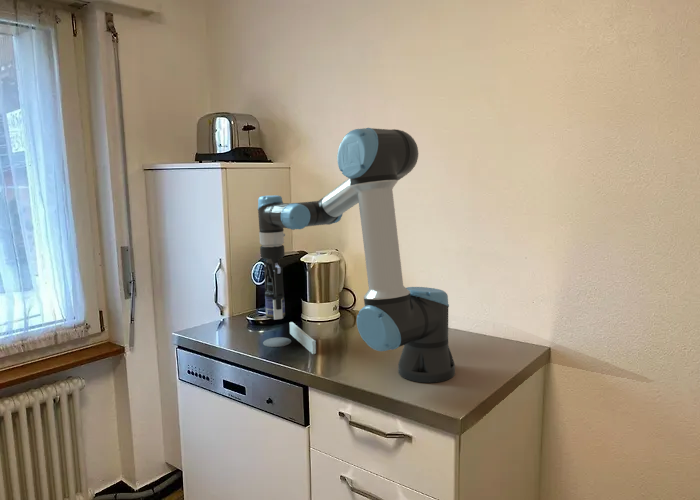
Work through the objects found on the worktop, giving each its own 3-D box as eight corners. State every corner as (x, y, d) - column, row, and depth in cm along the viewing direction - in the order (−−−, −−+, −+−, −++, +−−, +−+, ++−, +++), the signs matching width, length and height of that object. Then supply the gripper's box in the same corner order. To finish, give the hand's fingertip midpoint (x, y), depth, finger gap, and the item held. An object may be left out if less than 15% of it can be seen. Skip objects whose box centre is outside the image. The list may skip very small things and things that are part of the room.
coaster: (294, 344, 171) (294, 343, 171) (267, 348, 167) (267, 348, 167) (286, 336, 179) (286, 335, 179) (260, 340, 175) (259, 339, 175)
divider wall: (315, 353, 162) (315, 341, 161) (312, 354, 161) (312, 341, 161) (292, 333, 182) (292, 322, 182) (289, 333, 182) (289, 322, 181)
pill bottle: (281, 319, 168) (280, 285, 167) (263, 319, 170) (261, 285, 168) (287, 314, 174) (286, 281, 173) (269, 313, 176) (268, 280, 174)
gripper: (292, 248, 161) (295, 322, 165) (275, 240, 178) (278, 307, 182) (268, 250, 158) (272, 325, 162) (253, 242, 176) (256, 310, 179)
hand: (275, 316), depth 172 cm, fingers closed on pill bottle, 6 cm apart
